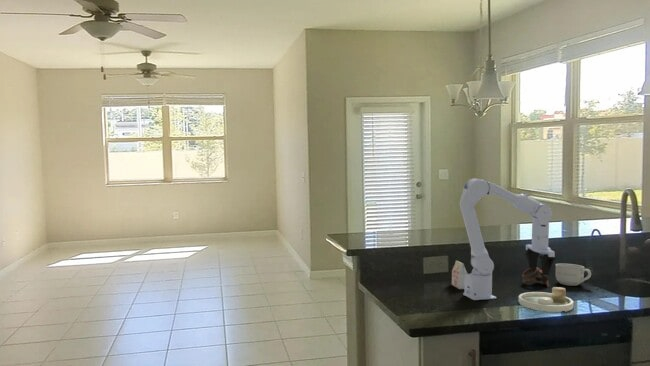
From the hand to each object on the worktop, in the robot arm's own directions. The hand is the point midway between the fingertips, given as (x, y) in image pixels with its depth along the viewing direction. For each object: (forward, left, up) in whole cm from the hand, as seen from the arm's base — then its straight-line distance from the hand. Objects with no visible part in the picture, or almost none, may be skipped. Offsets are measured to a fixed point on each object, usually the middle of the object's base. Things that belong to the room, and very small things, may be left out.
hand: (539, 272), depth 194 cm
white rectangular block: (-21, +21, -10) cm, 31 cm away
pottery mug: (+11, +17, -10) cm, 22 cm away
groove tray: (-3, -9, -9) cm, 13 cm away
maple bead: (+2, -9, -9) cm, 12 cm away
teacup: (+25, +12, -10) cm, 29 cm away
